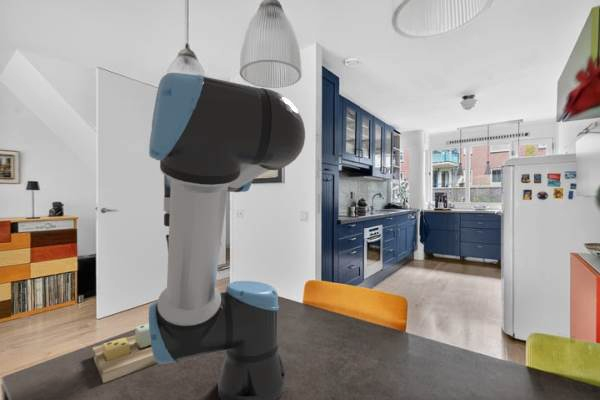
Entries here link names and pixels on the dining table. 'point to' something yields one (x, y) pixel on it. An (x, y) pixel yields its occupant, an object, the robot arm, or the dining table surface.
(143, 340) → the tile two
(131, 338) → the board
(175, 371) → the dining table surface
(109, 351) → the tile three
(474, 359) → the dining table surface
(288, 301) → the dining table surface
